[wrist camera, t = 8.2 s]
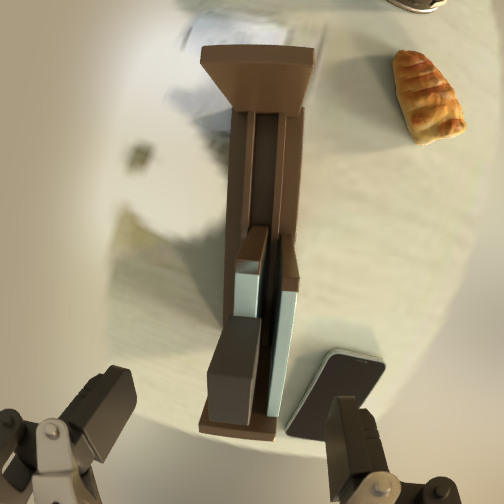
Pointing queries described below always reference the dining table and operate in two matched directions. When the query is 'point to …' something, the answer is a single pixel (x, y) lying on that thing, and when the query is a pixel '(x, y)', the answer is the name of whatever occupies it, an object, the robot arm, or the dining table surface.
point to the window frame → (263, 202)
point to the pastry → (426, 99)
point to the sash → (240, 337)
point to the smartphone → (334, 390)
